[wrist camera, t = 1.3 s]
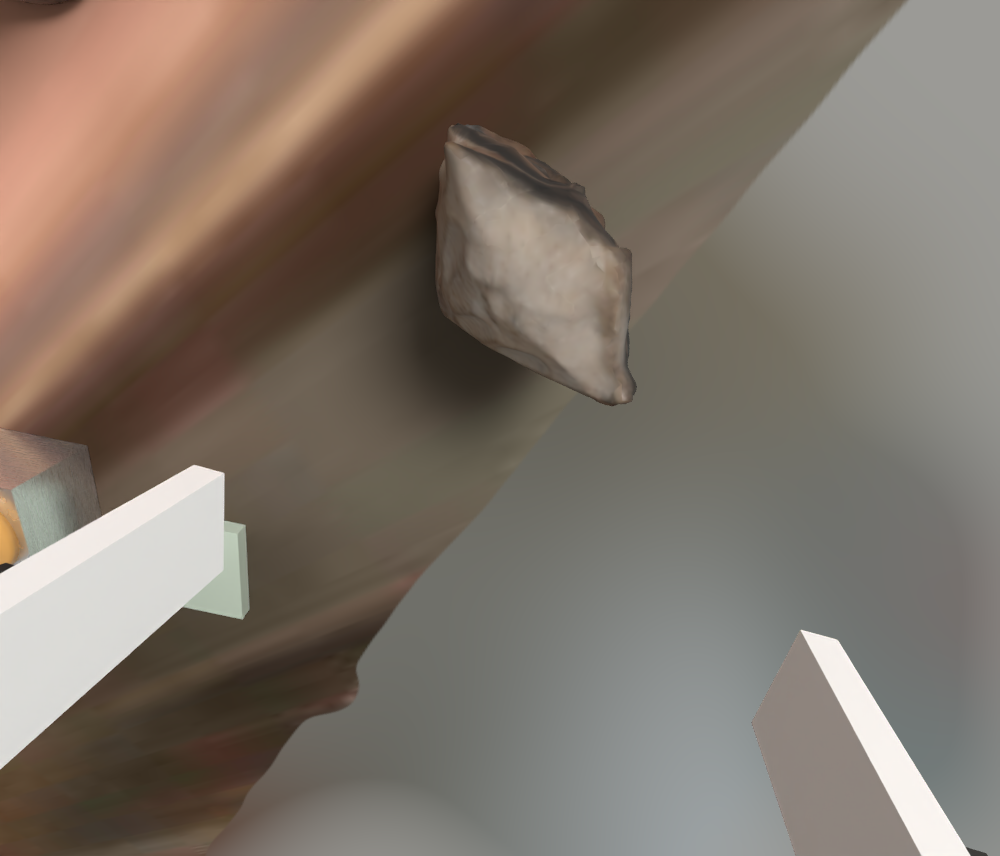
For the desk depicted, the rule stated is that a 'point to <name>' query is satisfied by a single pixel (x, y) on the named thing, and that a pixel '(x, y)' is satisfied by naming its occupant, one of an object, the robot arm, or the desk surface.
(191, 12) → the desk surface
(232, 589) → the mat
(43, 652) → the robot arm
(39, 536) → the block
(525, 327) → the owl
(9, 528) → the end cover
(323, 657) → the desk surface
